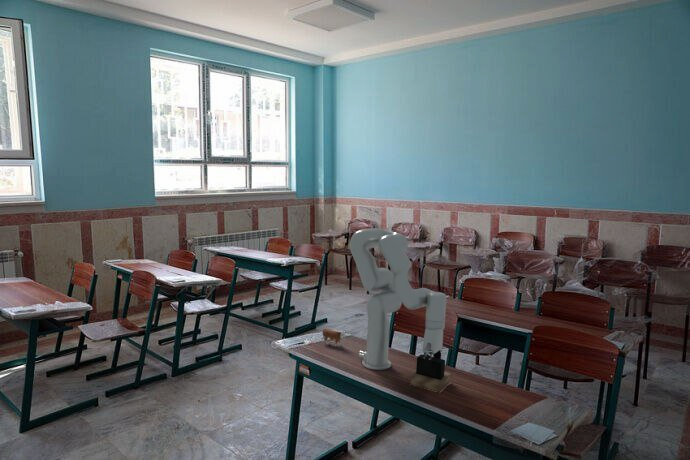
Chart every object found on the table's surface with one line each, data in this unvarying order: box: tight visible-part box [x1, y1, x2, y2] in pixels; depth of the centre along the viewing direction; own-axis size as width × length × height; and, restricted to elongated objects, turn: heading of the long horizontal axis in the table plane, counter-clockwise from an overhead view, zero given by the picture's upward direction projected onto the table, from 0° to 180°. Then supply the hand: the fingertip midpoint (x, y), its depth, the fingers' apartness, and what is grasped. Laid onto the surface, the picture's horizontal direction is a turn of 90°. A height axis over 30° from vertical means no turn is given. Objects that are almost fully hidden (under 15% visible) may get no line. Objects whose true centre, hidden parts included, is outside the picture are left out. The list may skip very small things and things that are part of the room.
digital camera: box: [415, 354, 446, 380], centre depth 195 cm, size 10×5×7 cm, turn 58°
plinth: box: [409, 371, 452, 392], centre depth 196 cm, size 13×13×4 cm
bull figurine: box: [322, 328, 347, 348], centre depth 236 cm, size 4×13×8 cm, turn 57°
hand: (432, 365), depth 195 cm, fingers open, 9 cm apart
